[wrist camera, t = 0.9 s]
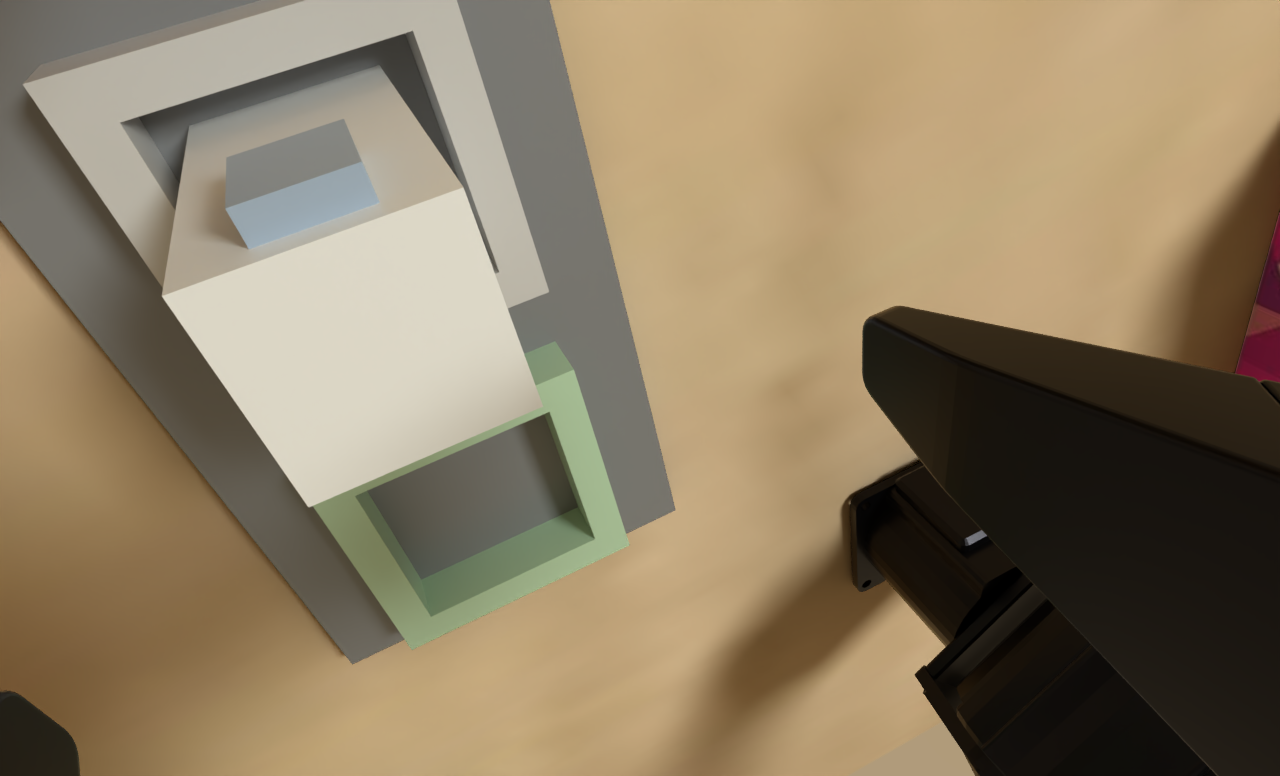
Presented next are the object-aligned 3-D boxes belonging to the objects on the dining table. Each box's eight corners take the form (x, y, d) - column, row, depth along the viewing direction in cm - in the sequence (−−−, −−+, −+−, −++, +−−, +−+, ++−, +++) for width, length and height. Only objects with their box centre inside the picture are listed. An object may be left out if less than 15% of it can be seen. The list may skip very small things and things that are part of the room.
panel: (666, 496, 29) (695, 539, 27) (349, 645, 26) (358, 704, 24) (501, -150, 16) (536, -150, 14) (-134, 22, 14) (-190, 48, 12)
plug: (444, 230, 19) (543, 406, 13) (283, 290, 18) (308, 507, 12) (367, 36, 16) (448, 145, 10) (172, 96, 15) (132, 254, 9)
